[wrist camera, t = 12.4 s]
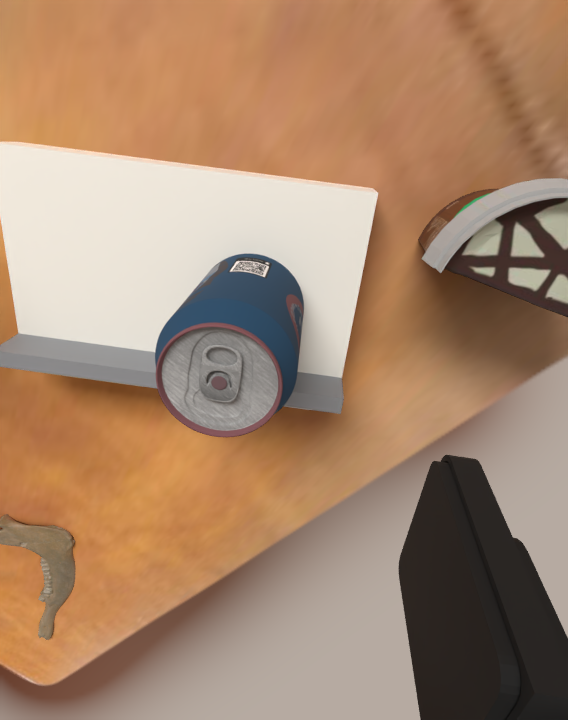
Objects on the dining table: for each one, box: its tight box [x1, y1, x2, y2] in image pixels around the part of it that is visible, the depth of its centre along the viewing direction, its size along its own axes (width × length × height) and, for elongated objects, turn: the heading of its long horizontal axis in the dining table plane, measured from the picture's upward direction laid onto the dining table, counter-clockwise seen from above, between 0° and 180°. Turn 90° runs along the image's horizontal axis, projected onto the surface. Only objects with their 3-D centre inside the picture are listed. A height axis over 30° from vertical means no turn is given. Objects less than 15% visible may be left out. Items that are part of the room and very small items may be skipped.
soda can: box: [155, 253, 304, 437], centre depth 26 cm, size 7×7×12 cm
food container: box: [418, 178, 568, 317], centre depth 26 cm, size 12×6×10 cm, turn 70°
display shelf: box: [0, 142, 378, 414], centre depth 31 cm, size 24×14×6 cm, turn 83°
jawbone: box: [0, 514, 75, 640], centre depth 50 cm, size 9×20×2 cm, turn 7°
